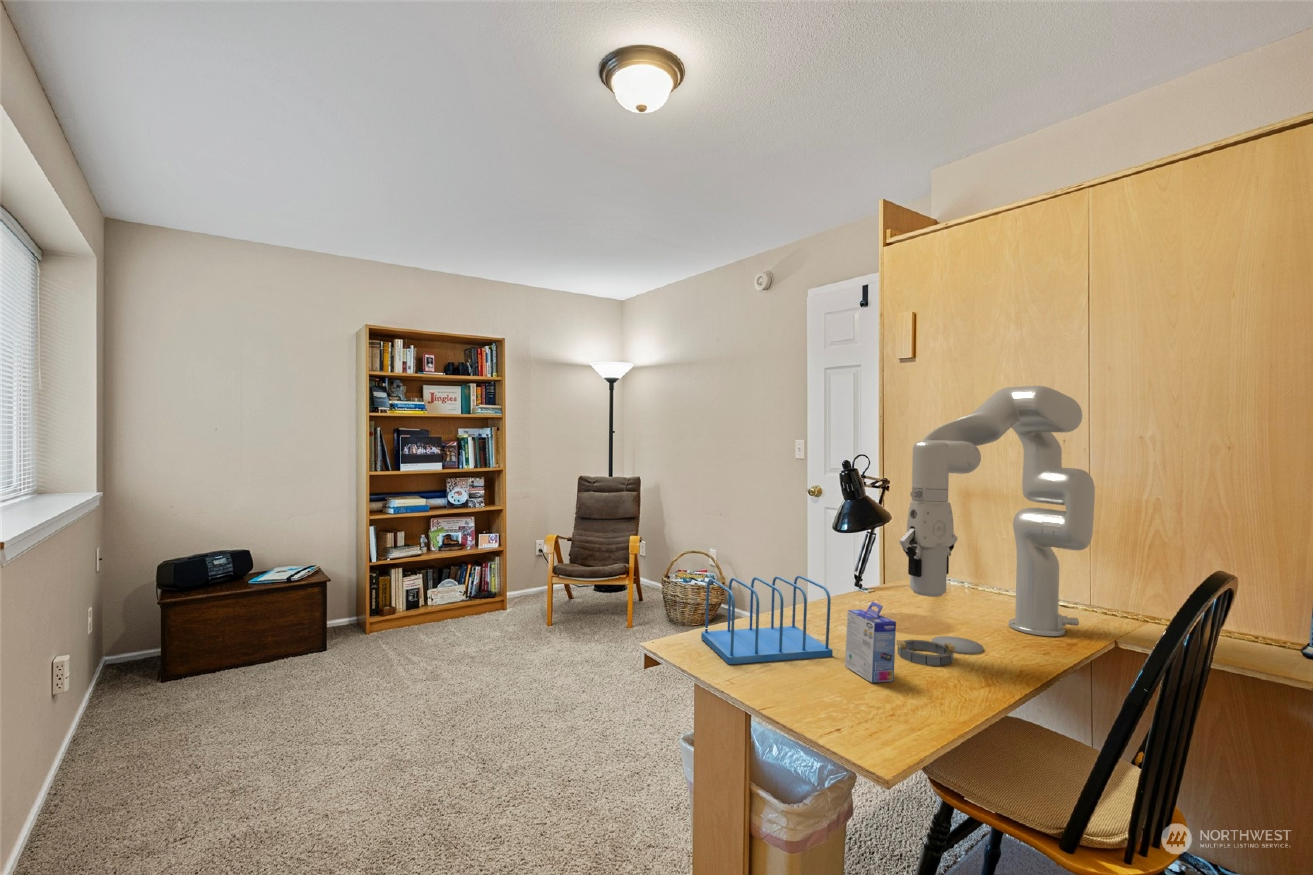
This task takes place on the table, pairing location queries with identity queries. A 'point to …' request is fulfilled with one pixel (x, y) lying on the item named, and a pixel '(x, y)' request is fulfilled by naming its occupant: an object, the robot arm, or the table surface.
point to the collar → (926, 659)
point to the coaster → (960, 644)
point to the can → (931, 572)
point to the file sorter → (766, 631)
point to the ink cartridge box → (870, 644)
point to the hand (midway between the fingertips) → (928, 573)
